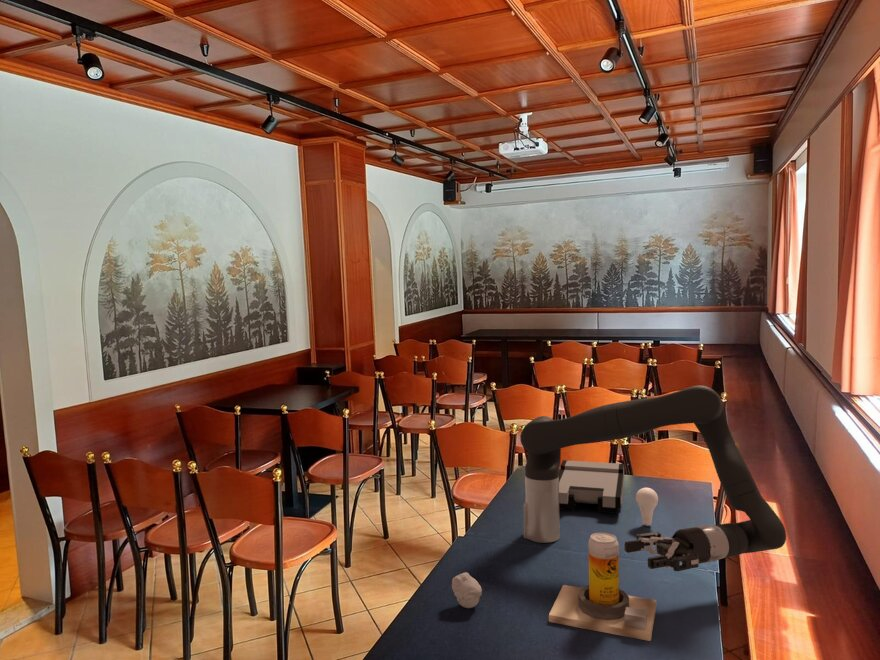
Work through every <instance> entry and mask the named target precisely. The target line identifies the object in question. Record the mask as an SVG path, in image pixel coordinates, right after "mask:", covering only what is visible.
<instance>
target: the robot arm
mask: <svg viewBox="0 0 880 660" xmlns="http://www.w3.org/2000/svg"><path fill="white" fill-rule="evenodd" d="M723 403H724V402H723V400H722V398H721V396H720V394H718V392H716V391H715V390H714V389H713V388H711V387H709V386H706V385H700V384H699V385H692V386H690V387H687V388H683V389H681V390H676V391H674V392H672V393H667V394H664V395H660V396H657V397H649V398H639V399H631V400H625V401H618V402H612V403H610V404H609V403H608V404H603V405H599V406H597V407H593V408H590V409H588V410H586V411H583V412H580V413H578V414H575V415H573V416H569V417H565V418H562V419H559V418H558V419H553V418H552V417H550V416H546V415H545V416H544V415H543V416H541V415H540V416H537V417H535V418H534V419H532V420H531V421H529V422H528V423H526V424H525V425H524V427H523V428H522V430H521V433H520V437H519V438H520V439H519V440H520V443H521V446H522V447H523V448H524V449H525V450H526V451H528V455H527V460H526V463H525V467H524V485H525V490H524V492H525V502H524V503H523V505H522V506H523V510H522V511H523V538H524V539H527V540H529V541H532V542H535V543H545V544H547V543H553V542H556V541H559V539H560V537H561V536H560V535H561V534H560V532H561V530H560V529H561V528H560V525H561V523H560V508H559V471H560V465H561V460H562V459H561V456H562V453H561V452H562V449H563V448H567V447H572V446H578V445H587V444H595V443H596V444H597V443H603V442H609V441H616V440H622V439H627V438H632V437H635V436H636V437H637V436H640V435H643V434H646V433H648V432H651V431H653V430H657V429H659V428H662V427H668V426H675V425H685V424H686V425H687V424H694V426H695V428H697V430H698V433H700V435H701V437H702V438H703V441H704V443H705V444H706V445H705V446H707V449H708V451H709V454H710V457H711V460H712V463H713V466H714V469H715V472H716V474H717V477H718V479H719V482H720V484H721V487H722V489H723V491H724V494H725V496H726V497H727V498H726V499H727V501H728V502H729V504H730V506H731V508H732V509H733V510H735V511H738V512H739V511H740V512H744V514H745V515H746V516H747V517H748V518H749V519H748V520H743V521H739V522H734V523H730V522H728V523H727V522H726V523H719V524H714V525H700V526H693V527H688V528H687V527H686V528H681V529H677V530H676V531H675V532H674V533H673V535H672V536H671V537H668V536H663V537H662V533H661V532H660V531H655V532H653V531H652V532H647V533H646V532H645V533H640V534H639V533H637V534H636V539H635V540H629V541H625V542H624V552H626V553H634V552H641V551H646V552H649V553H650V554H651V555H656V556H650V557H648V558H647V567H648V568H649V569H651V570H653V569H654V570H655V569H658V568H659V569H660V568H667V569H671V568H673V571H674V572H681V571H686V570H691V569H696V568H699V564H705V563H710V562H716V561H719V560H721V559H726V558H727V559H728V558H732V557H737V556H740V555H743V554H752V553H757V552H758V553H760V552H764V551H771V550H778V549H780V548H782V547H783V546H784V545H785V544H786V541H787V533H786V532H787V531H786V529H785V526H784V523H783V521H782V520H781V518H780V517H779V515H777V513H776V512H775V511H774V510H773V509H772V507H771V506H770V504H769V503H768V502H767V501H766V499H765V498H764V497H763V496H762V493H761V492H760V490H759V488H758V486H757V484H756V481H755V479H754V477H753V475H752V473H751V471H750V470H749V469H750V468H749V467H748V466H747V463H746V462H745V460H744V457H743V456H742V454H741V452H740V450H739V448H738V447H737V444H736V442H735V440H734V438H733V436H732V432H731V430H730V428H729V424H728V422H727V417H726V413H725V409H724V404H723ZM655 546H656V549H655Z"/></svg>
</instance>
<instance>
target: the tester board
mask: <svg viewBox="0 0 880 660" xmlns="http://www.w3.org/2000/svg"><path fill="white" fill-rule="evenodd" d="M656 610H657V599H651V598H645V597H640V596H634V595H629V594H627V593H626V591H624V590H623V589H620V588H619V604H617V605H608V606H605V605H599V604H594V603H592V602H590V601H589V584H588V585H586V586H584V587H579V586H574V585H573V586H572V585H566V584H563V585H562V587H561V589H560V591H559V593H558V595H557V597H556V599H555V601H554V603H553V606H552V607H551V609H550V611H549V614H548V622H549V623H553V624H554V623H555V624H558V625H564V626H569V627H573V628H580V629H584V630H589V631H596V632H600V633H606V634H612V635H616V636H621V637H626V638H631V639H637V640H643V641H648V642H651V641H652V635H653V630H654V624H655V618H656Z"/></svg>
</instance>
